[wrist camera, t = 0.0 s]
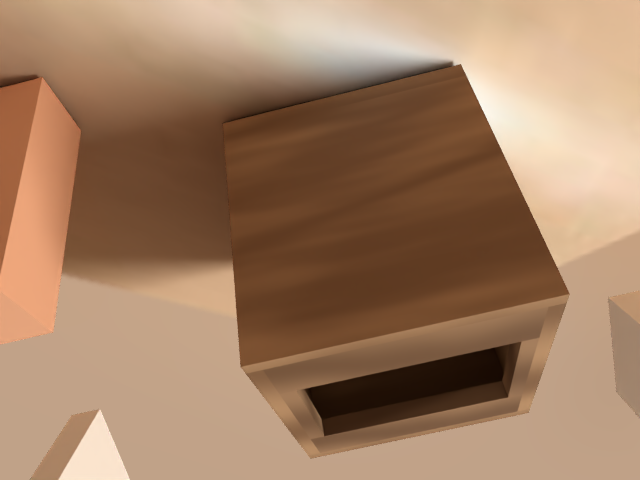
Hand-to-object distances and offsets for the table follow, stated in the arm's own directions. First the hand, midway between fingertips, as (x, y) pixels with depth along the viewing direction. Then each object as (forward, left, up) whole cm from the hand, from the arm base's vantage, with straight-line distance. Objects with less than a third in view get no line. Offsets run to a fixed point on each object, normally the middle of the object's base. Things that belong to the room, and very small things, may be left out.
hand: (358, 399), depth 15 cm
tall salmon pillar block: (0, -12, -15) cm, 20 cm away
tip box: (+9, +2, -15) cm, 18 cm away
